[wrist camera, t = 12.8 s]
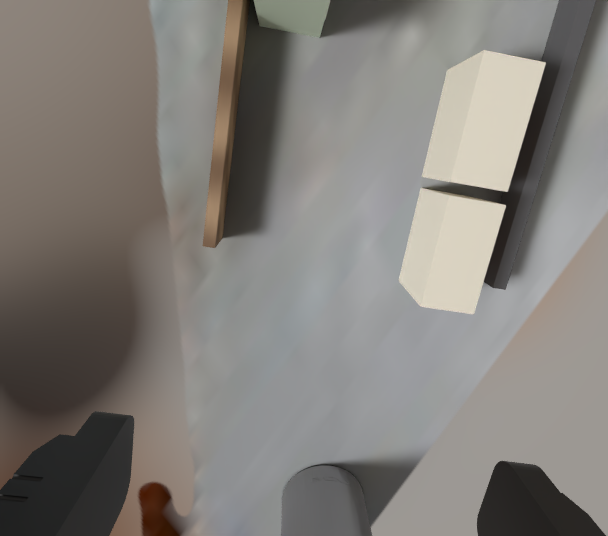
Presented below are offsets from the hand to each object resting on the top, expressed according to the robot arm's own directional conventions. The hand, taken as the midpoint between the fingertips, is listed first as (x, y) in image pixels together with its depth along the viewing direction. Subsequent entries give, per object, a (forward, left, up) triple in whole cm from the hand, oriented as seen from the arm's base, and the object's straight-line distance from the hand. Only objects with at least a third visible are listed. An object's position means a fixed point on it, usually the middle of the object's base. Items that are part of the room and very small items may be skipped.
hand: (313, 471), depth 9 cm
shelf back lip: (+11, +7, -30) cm, 33 cm away
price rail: (+11, -19, -30) cm, 37 cm away
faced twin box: (+1, -13, -30) cm, 33 cm away
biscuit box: (+11, -13, -30) cm, 35 cm away
